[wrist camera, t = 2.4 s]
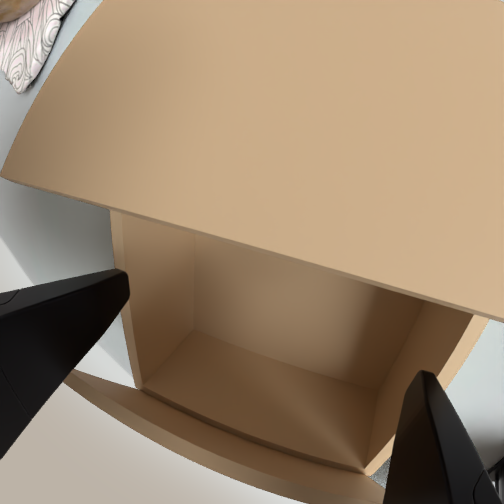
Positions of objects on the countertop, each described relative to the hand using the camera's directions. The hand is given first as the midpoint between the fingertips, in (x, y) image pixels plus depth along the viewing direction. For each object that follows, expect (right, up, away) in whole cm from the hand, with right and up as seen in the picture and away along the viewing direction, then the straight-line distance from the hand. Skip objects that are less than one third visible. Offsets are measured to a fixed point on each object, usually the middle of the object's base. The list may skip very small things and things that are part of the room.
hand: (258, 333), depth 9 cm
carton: (+3, +4, +6) cm, 8 cm away
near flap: (0, +6, -4) cm, 7 cm away
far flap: (-1, -5, +2) cm, 6 cm away
